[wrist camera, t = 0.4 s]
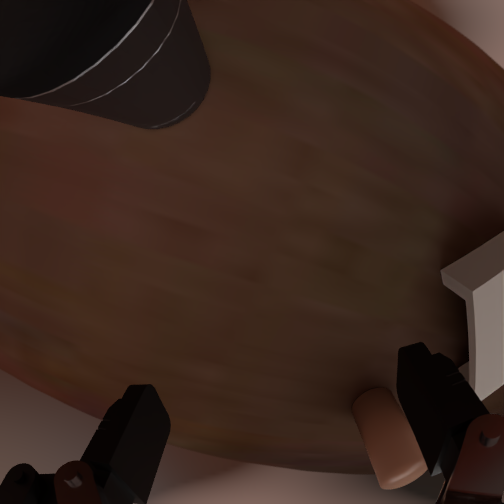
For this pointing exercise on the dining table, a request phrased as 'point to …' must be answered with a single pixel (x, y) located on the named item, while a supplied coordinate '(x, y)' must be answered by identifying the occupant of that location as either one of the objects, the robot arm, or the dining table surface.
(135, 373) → the dining table surface
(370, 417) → the tan rounded-top cylinder
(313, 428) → the dining table surface
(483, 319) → the white channel block
